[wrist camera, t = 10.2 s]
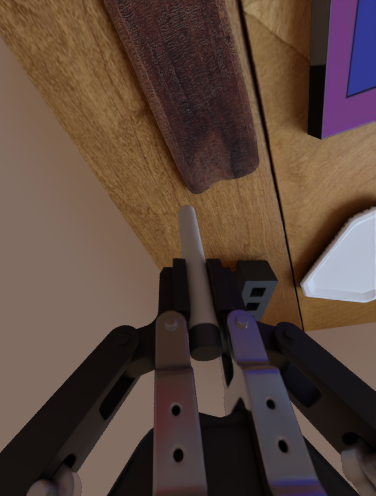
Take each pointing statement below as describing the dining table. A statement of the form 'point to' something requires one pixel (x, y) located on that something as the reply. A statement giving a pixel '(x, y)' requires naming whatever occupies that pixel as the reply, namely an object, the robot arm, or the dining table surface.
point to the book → (342, 66)
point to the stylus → (198, 292)
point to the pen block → (255, 285)
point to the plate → (347, 263)
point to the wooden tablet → (191, 84)
